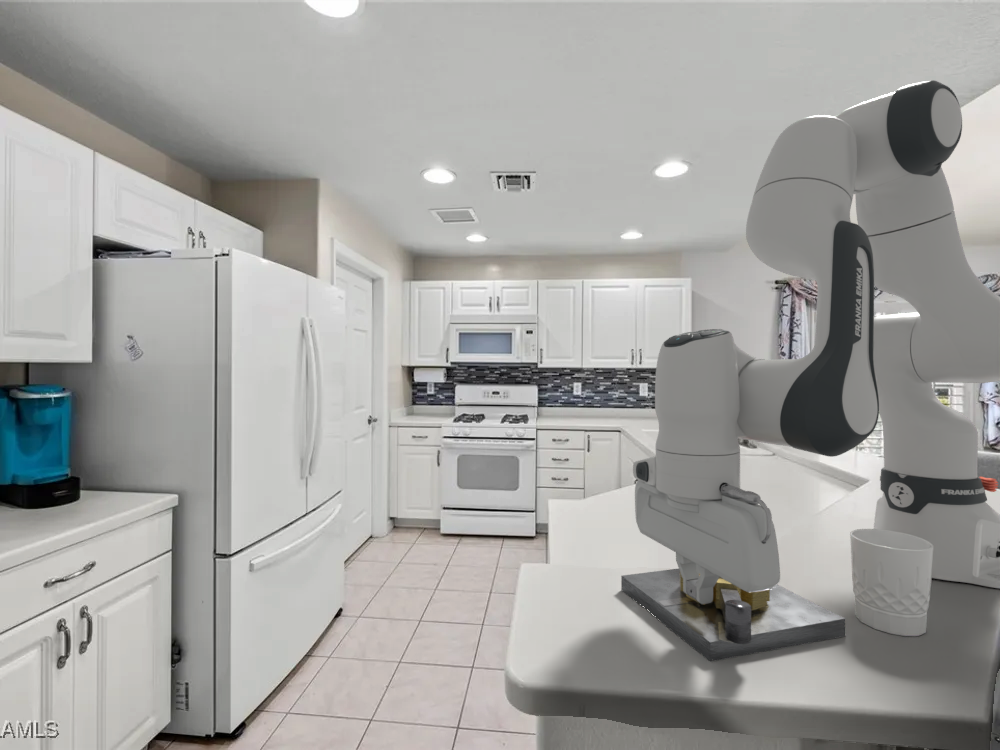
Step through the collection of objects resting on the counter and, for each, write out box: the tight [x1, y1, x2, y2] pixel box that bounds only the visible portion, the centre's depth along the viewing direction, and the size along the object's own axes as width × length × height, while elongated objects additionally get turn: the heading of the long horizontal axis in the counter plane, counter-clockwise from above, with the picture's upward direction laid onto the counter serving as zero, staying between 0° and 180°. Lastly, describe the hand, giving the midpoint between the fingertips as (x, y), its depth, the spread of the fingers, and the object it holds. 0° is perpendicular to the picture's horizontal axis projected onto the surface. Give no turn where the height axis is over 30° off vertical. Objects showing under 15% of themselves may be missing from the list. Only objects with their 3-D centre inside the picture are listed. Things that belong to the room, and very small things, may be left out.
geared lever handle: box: [680, 573, 770, 644], centre depth 60 cm, size 18×10×4 cm, turn 164°
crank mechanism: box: [620, 568, 846, 662], centre depth 64 cm, size 18×19×7 cm
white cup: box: [849, 528, 934, 637], centre depth 61 cm, size 8×8×10 cm
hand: (697, 598), depth 58 cm, fingers closed
